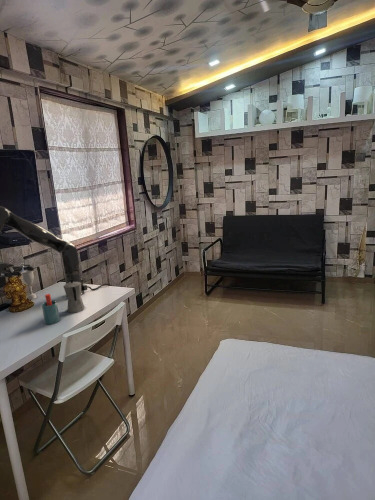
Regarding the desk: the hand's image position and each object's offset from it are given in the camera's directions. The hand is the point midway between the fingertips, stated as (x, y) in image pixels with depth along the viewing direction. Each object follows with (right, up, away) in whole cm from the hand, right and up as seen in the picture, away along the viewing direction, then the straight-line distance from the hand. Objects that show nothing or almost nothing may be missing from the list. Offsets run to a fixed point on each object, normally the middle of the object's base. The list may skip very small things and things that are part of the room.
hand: (26, 271), depth 170 cm
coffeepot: (+21, -23, +15) cm, 34 cm away
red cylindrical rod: (+12, -26, +2) cm, 28 cm away
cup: (+12, -26, +3) cm, 29 cm away
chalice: (-15, -20, +38) cm, 46 cm away
